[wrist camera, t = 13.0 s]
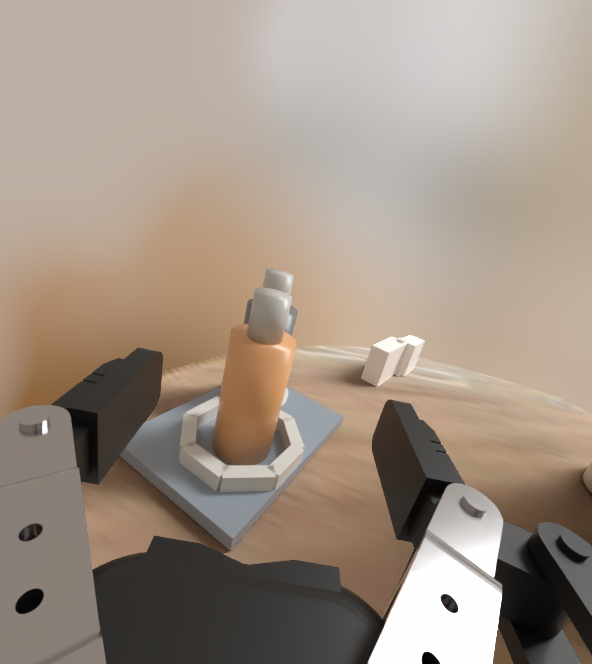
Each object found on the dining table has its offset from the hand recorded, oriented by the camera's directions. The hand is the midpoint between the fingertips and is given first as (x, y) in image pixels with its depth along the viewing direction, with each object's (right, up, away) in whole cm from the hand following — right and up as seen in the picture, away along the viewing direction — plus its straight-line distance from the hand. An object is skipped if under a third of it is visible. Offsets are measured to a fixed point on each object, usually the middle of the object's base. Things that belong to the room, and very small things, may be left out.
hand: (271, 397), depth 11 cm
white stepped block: (+15, -4, +35) cm, 38 cm away
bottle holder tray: (-3, -6, +16) cm, 17 cm away
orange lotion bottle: (-3, -6, +13) cm, 15 cm away
